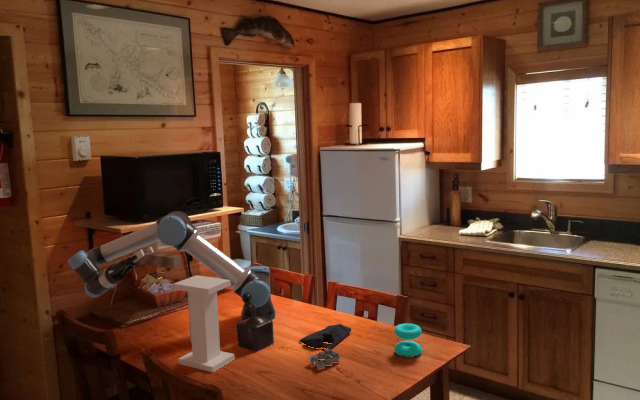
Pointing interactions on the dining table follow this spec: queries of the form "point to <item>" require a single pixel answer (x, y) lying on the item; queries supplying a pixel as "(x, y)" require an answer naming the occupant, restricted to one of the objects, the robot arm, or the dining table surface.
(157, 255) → the walnut bar
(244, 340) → the pepper mill
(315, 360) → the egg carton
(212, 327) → the pedestal stand
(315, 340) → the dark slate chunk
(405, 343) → the donuts
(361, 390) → the dining table surface
